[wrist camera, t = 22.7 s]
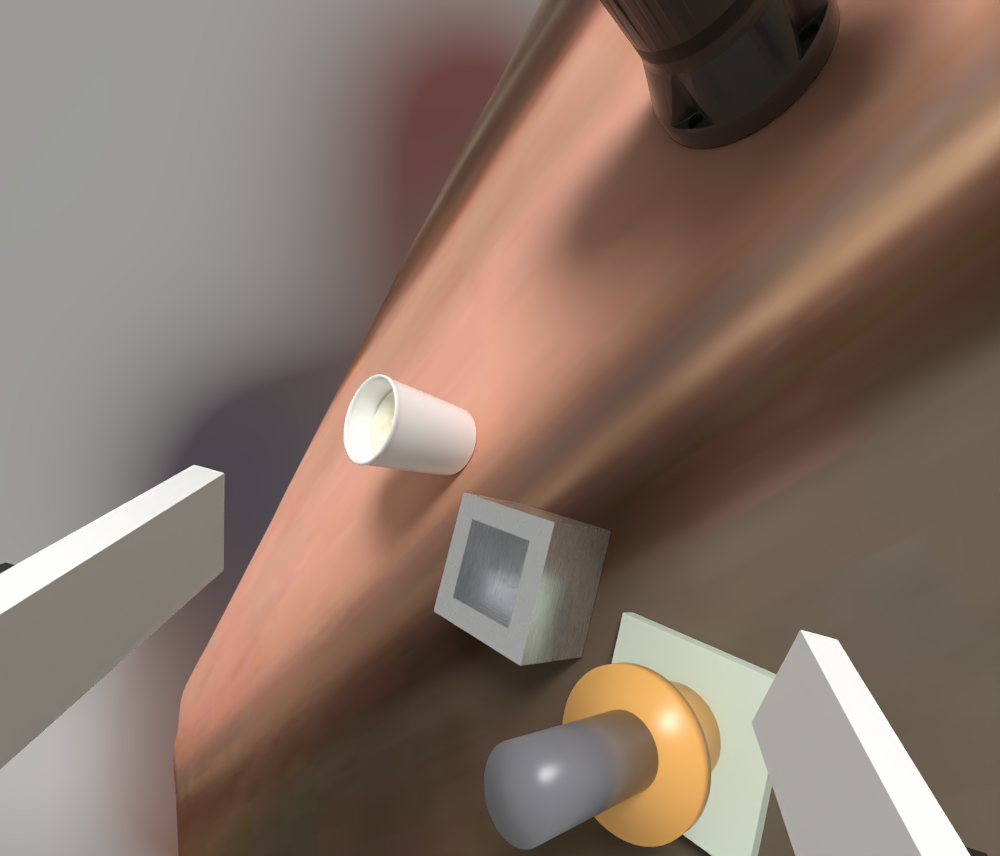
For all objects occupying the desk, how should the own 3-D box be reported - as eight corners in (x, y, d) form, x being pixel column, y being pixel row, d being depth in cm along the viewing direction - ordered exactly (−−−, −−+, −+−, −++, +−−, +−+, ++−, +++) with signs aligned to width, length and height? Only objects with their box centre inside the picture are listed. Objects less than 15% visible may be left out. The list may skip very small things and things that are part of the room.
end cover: (632, 634, 40) (475, 650, 29) (762, 694, 34) (624, 748, 22) (604, 758, 40) (431, 826, 28) (729, 847, 33) (570, 986, 21)
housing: (521, 503, 53) (463, 492, 48) (611, 531, 45) (554, 522, 40) (495, 609, 53) (433, 611, 47) (581, 657, 45) (520, 665, 39)
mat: (632, 612, 42) (623, 612, 41) (793, 681, 34) (786, 684, 33) (598, 761, 42) (588, 765, 41) (754, 871, 33) (746, 880, 32)
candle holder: (491, 409, 60) (406, 379, 51) (467, 491, 59) (377, 475, 51) (441, 397, 67) (359, 369, 58) (419, 470, 67) (333, 453, 58)
